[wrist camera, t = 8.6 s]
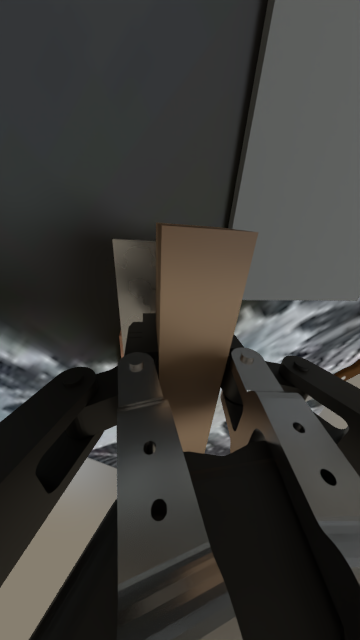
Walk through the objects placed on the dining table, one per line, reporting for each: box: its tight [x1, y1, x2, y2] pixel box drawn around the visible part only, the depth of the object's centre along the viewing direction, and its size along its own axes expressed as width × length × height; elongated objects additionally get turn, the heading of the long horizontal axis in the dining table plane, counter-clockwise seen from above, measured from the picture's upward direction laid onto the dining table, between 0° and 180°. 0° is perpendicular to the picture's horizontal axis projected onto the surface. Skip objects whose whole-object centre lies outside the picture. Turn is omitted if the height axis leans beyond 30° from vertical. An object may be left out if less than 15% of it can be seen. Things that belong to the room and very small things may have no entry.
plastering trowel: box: [112, 223, 259, 454], centre depth 11 cm, size 13×7×7 cm, turn 176°
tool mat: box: [228, 0, 360, 301], centre depth 16 cm, size 18×22×1 cm
